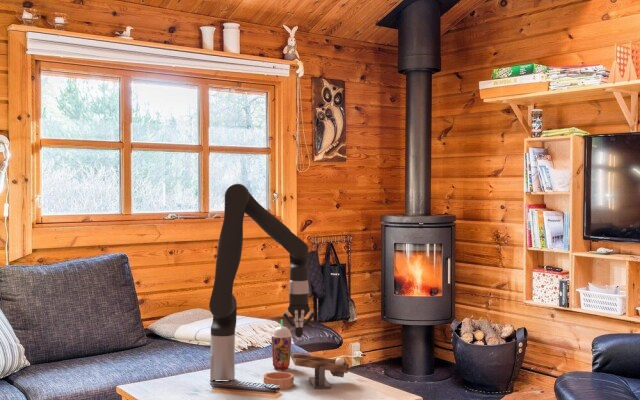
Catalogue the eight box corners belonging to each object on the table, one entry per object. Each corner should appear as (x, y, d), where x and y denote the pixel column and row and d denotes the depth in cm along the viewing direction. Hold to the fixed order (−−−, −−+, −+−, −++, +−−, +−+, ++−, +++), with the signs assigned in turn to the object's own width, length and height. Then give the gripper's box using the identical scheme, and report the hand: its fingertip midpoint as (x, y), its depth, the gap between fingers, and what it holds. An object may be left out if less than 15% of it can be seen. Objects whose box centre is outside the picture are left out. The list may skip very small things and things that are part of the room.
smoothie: (282, 372, 288) (282, 322, 288) (266, 368, 293) (267, 319, 293) (295, 368, 294) (296, 319, 294) (280, 365, 300) (280, 317, 299)
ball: (334, 365, 270) (338, 357, 270) (333, 363, 273) (337, 355, 273) (343, 369, 270) (346, 360, 270) (341, 367, 274) (345, 358, 274)
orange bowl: (264, 389, 262) (264, 379, 262) (262, 381, 273) (262, 372, 273) (294, 388, 264) (294, 379, 264) (291, 380, 275) (291, 371, 275)
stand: (314, 389, 263) (314, 367, 263) (309, 379, 277) (309, 358, 277) (330, 388, 264) (330, 366, 264) (324, 378, 278) (324, 358, 278)
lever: (293, 370, 265) (296, 356, 265) (288, 360, 282) (291, 346, 282) (346, 378, 268) (349, 364, 268) (338, 367, 285) (340, 354, 285)
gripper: (282, 293, 273) (282, 339, 273) (317, 292, 275) (317, 338, 275) (280, 291, 280) (280, 335, 281) (314, 290, 282) (314, 334, 283)
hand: (298, 336), depth 278 cm, fingers closed
